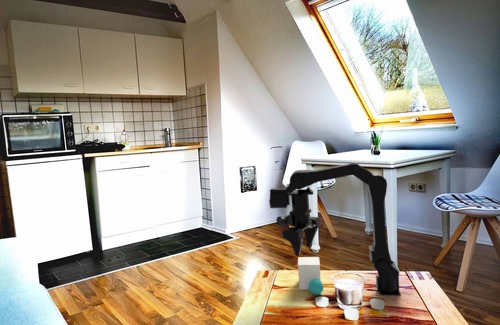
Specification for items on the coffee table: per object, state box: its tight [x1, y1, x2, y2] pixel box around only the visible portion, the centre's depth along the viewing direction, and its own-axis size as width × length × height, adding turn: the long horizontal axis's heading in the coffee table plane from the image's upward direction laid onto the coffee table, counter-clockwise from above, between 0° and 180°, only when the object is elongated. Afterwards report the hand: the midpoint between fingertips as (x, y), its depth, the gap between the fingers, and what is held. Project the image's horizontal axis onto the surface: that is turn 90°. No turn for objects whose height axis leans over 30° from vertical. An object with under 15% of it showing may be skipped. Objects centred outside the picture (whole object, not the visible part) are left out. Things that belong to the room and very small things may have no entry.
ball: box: [308, 279, 324, 296], centre depth 123 cm, size 5×5×5 cm
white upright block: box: [297, 256, 322, 290], centre depth 131 cm, size 8×8×9 cm
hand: (303, 251), depth 127 cm, fingers open, 9 cm apart
